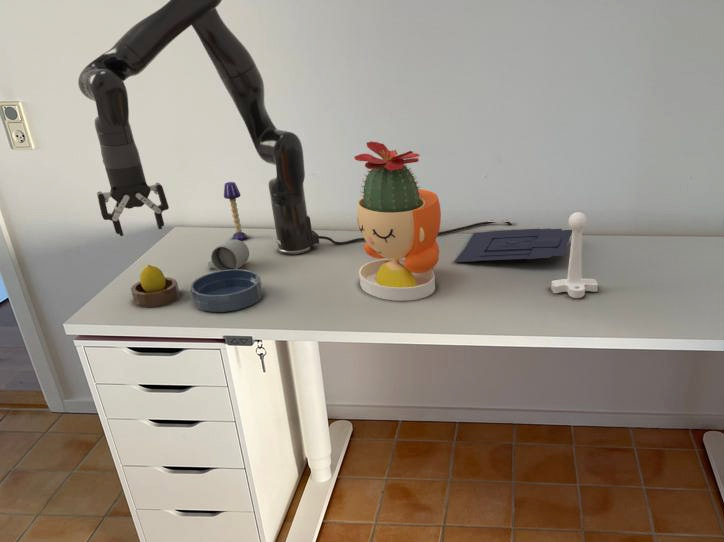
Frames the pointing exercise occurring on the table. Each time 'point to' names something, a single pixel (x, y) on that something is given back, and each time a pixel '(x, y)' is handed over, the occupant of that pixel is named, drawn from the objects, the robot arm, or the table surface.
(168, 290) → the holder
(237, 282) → the bowl
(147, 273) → the lemon
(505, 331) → the table surface
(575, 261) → the joystick
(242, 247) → the ceramic mug
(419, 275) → the potted cactus
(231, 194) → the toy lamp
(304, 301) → the table surface
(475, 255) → the dark blue flat board
